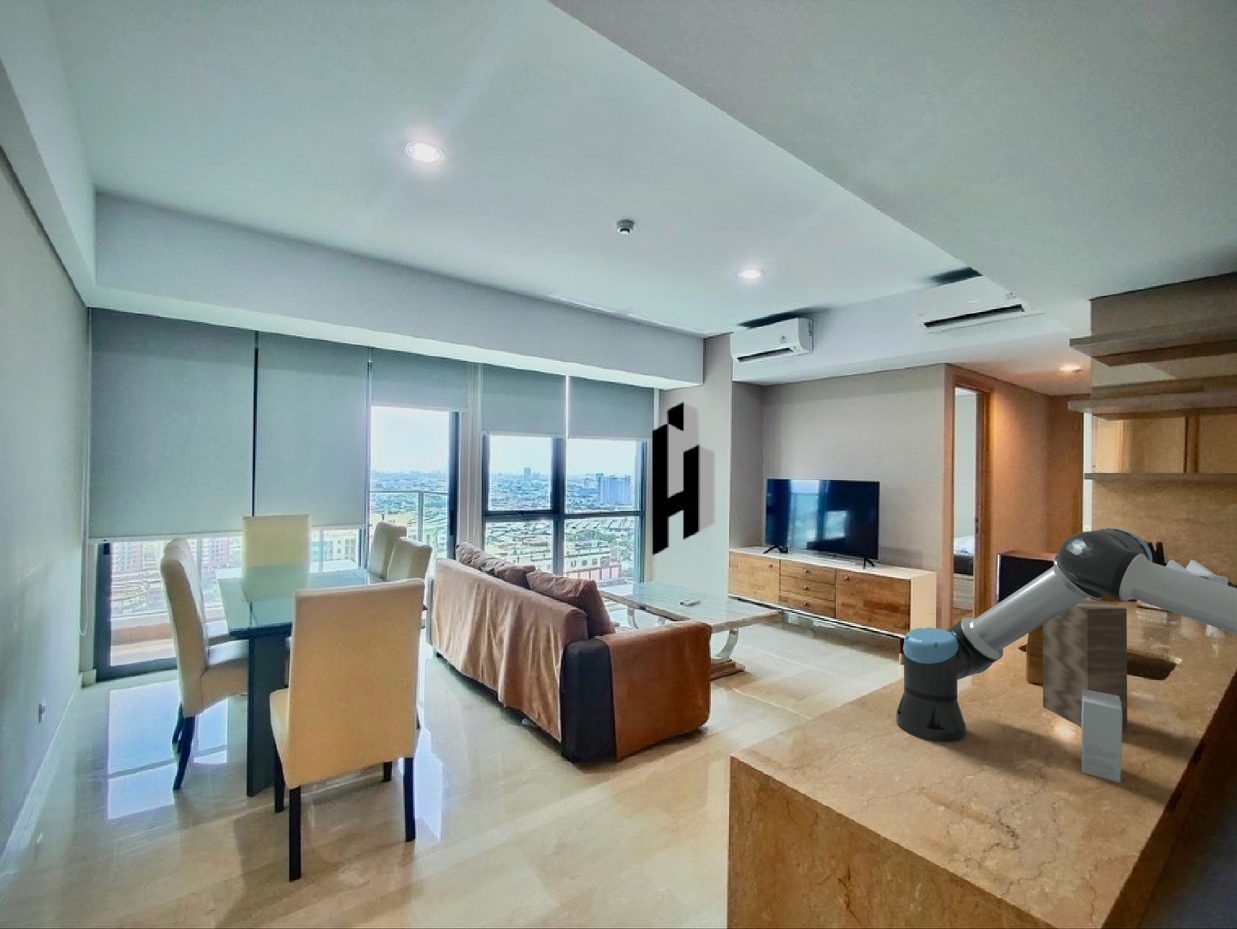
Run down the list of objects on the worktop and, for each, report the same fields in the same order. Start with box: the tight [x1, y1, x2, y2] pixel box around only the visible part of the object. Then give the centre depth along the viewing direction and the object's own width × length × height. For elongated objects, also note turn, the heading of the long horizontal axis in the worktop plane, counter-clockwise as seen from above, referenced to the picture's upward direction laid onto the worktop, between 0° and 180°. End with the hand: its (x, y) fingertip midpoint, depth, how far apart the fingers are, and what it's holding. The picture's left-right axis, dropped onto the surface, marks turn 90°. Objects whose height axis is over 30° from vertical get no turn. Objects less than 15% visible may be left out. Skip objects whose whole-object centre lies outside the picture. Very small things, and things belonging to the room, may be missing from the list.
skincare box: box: [1080, 689, 1123, 784], centre depth 119 cm, size 8×7×16 cm
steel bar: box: [1189, 571, 1229, 586], centre depth 125 cm, size 23×4×3 cm, turn 2°
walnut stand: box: [1042, 598, 1128, 731], centre depth 145 cm, size 14×10×30 cm
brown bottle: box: [1025, 625, 1043, 685], centre depth 170 cm, size 10×12×22 cm
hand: (1179, 565), depth 121 cm, fingers closed on steel bar, 4 cm apart
